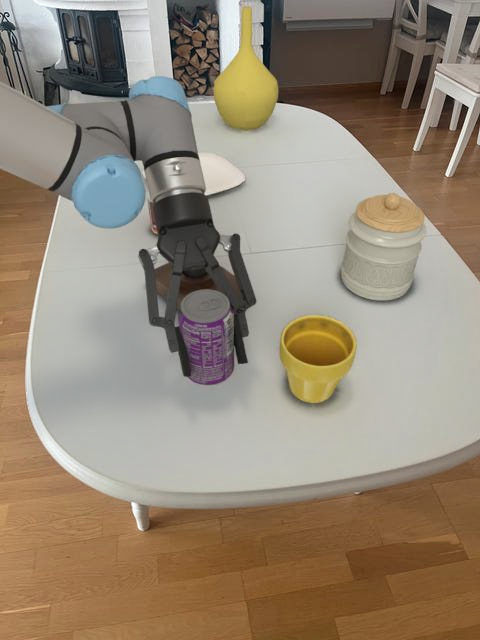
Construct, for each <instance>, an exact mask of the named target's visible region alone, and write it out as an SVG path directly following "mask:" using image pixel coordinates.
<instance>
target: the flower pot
mask: <svg viewBox="0 0 480 640" xmlns="http://www.w3.org/2000/svg"><path fill="white" fill-rule="evenodd" d="M357 347H358V343H357V338H356V335H355V334H354V332H353V331H352V330H351V329H350V327H349V326H347V325H346V324H345V323H343V322H342V321H340V320H338V319H336V318H333V317H330V316H326V315H321V314H320V315H319V314H310V315H304V316H303V315H302V316H300V317H297V318H295V319H293V320H291V321H290V322H289V323H288V324H287V325H285V327H284V328H283V329H282V331H281V334H280V339H279V359H280V363H281V364H282V366H283V367H284V368H285V371H286V376H287V381H288V386H289V390H290V392H291V393H292V394H293V396H295V398H297V399H298V400H300V401H302V402H304V403H305V402H306V403H310V404H319V403H323V402H325V401H326V400H328V399H329V398H330V397H331V396H332V395H333V394H334V391H335V390H336V388H337V386H338V385H339V383H340V381H341V379H342V378H343V377H345V376H346V375H348V373H349V372H350V370H351V369H352V366H353V364H354V361H355V358H356V352H357Z"/></svg>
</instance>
